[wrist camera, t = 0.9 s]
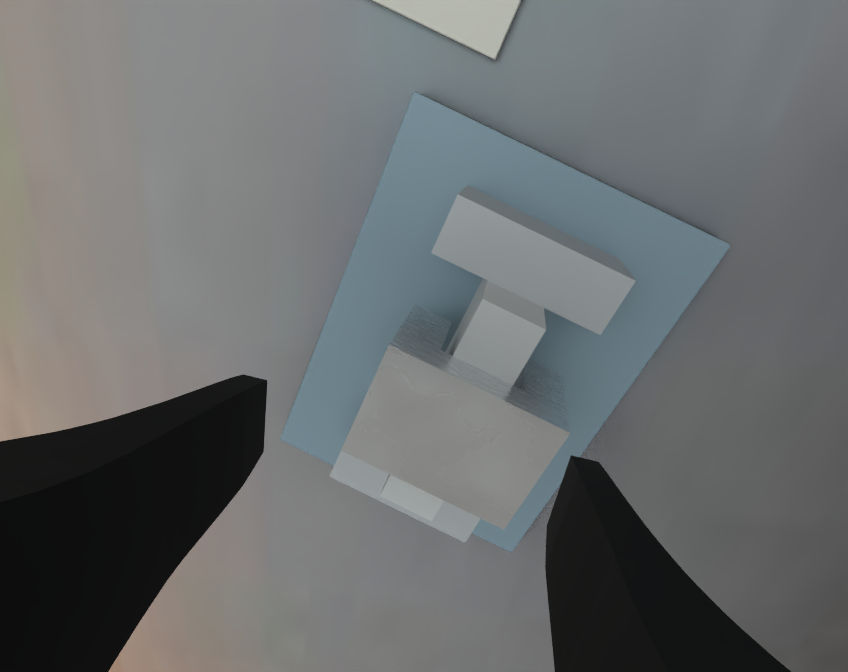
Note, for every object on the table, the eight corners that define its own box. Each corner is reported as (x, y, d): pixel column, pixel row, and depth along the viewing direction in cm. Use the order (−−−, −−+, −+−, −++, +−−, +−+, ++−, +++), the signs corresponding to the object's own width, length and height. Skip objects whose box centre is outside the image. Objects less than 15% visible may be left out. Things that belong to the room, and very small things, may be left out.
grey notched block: (561, 375, 18) (570, 433, 14) (507, 460, 19) (503, 529, 16) (414, 304, 18) (389, 344, 14) (373, 394, 19) (340, 450, 16)
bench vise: (719, 238, 19) (804, 285, 13) (511, 534, 25) (507, 651, 19) (420, 94, 19) (374, 76, 13) (290, 426, 25) (222, 511, 19)
